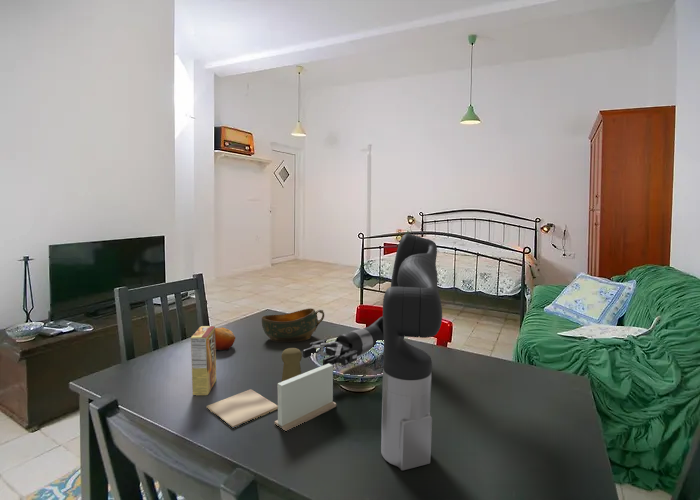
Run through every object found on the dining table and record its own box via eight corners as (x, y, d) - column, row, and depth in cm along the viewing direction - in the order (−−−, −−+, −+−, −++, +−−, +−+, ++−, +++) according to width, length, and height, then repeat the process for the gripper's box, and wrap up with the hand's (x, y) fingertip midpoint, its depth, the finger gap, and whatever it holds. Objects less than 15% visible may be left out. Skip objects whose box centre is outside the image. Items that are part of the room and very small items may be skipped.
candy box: (201, 380, 109) (199, 325, 107) (217, 379, 110) (215, 325, 108) (192, 396, 100) (189, 337, 98) (209, 395, 101) (207, 336, 99)
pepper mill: (305, 385, 107) (305, 345, 105) (300, 396, 101) (300, 354, 99) (283, 384, 107) (283, 344, 106) (277, 395, 101) (276, 353, 100)
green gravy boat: (312, 347, 133) (312, 318, 132) (259, 341, 139) (258, 313, 138) (325, 335, 146) (325, 308, 145) (276, 330, 151) (275, 304, 150)
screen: (324, 400, 99) (325, 361, 98) (336, 406, 96) (336, 366, 95) (274, 424, 88) (273, 381, 87) (285, 432, 85) (285, 387, 84)
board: (278, 408, 95) (278, 406, 95) (232, 429, 86) (232, 426, 86) (250, 391, 103) (250, 389, 103) (206, 408, 95) (206, 405, 95)
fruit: (202, 342, 133) (215, 321, 134) (224, 351, 136) (236, 330, 137) (204, 351, 126) (217, 328, 127) (227, 360, 129) (240, 338, 130)
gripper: (338, 326, 124) (296, 338, 113) (372, 337, 114) (331, 352, 103) (337, 349, 125) (296, 364, 114) (372, 362, 115) (331, 380, 104)
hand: (313, 358), depth 108 cm, fingers open, 8 cm apart
